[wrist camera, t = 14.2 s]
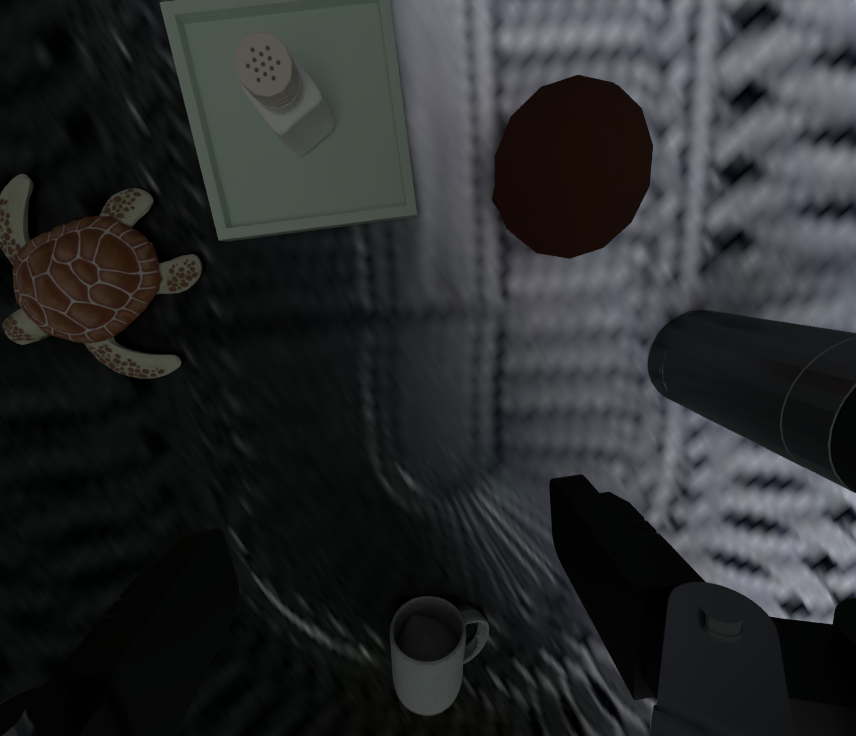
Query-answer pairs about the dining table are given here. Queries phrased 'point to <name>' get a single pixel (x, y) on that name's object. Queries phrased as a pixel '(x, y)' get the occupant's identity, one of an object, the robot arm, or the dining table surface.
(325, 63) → the tray
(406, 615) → the ceramic mug
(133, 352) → the decorative turtle
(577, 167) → the muffin
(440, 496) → the dining table surface
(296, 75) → the pepper shaker
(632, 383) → the dining table surface
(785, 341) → the robot arm
